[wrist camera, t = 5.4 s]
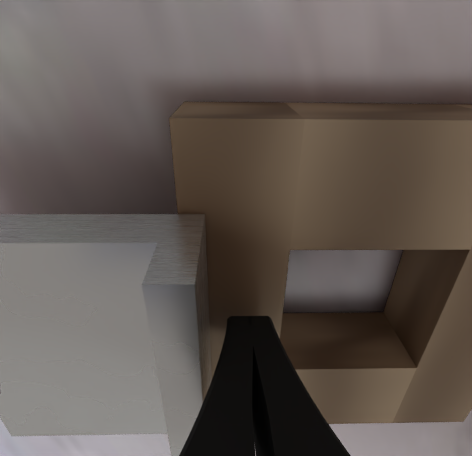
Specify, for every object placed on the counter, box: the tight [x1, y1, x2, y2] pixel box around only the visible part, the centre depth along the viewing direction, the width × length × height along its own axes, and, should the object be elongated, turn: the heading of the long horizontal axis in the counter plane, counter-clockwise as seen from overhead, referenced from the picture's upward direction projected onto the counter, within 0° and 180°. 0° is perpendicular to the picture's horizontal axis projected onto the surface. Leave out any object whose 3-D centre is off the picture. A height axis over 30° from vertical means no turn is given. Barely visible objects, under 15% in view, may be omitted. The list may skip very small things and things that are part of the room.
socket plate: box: [169, 102, 472, 424], centre depth 12 cm, size 12×13×3 cm
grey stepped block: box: [0, 214, 212, 456], centre depth 9 cm, size 7×8×3 cm
